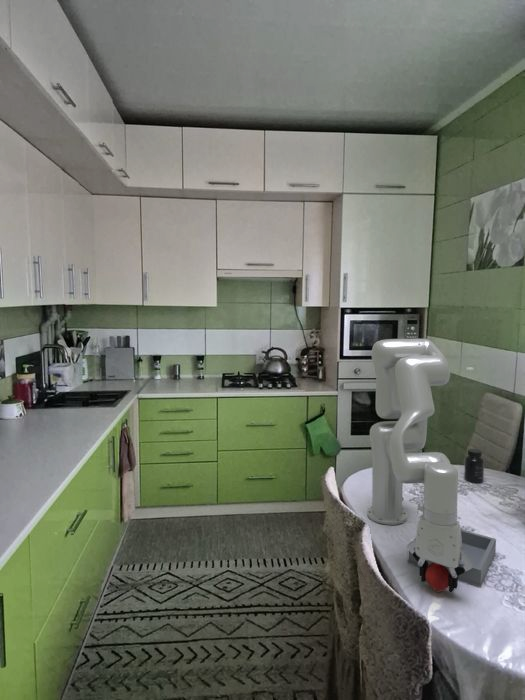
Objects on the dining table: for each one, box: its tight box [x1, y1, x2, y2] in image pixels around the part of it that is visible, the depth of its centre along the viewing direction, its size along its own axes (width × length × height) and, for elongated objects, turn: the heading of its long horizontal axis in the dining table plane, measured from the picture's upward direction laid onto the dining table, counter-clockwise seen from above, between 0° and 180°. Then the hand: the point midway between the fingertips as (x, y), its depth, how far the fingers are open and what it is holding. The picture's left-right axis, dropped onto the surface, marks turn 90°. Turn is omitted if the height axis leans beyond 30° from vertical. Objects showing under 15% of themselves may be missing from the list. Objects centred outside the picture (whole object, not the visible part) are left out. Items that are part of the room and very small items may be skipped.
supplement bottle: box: [463, 448, 485, 484], centre depth 177 cm, size 7×7×12 cm
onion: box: [425, 563, 450, 592], centre depth 111 cm, size 6×6×8 cm
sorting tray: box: [407, 529, 497, 588], centre depth 125 cm, size 18×18×4 cm
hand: (438, 583), depth 112 cm, fingers closed on onion, 5 cm apart
